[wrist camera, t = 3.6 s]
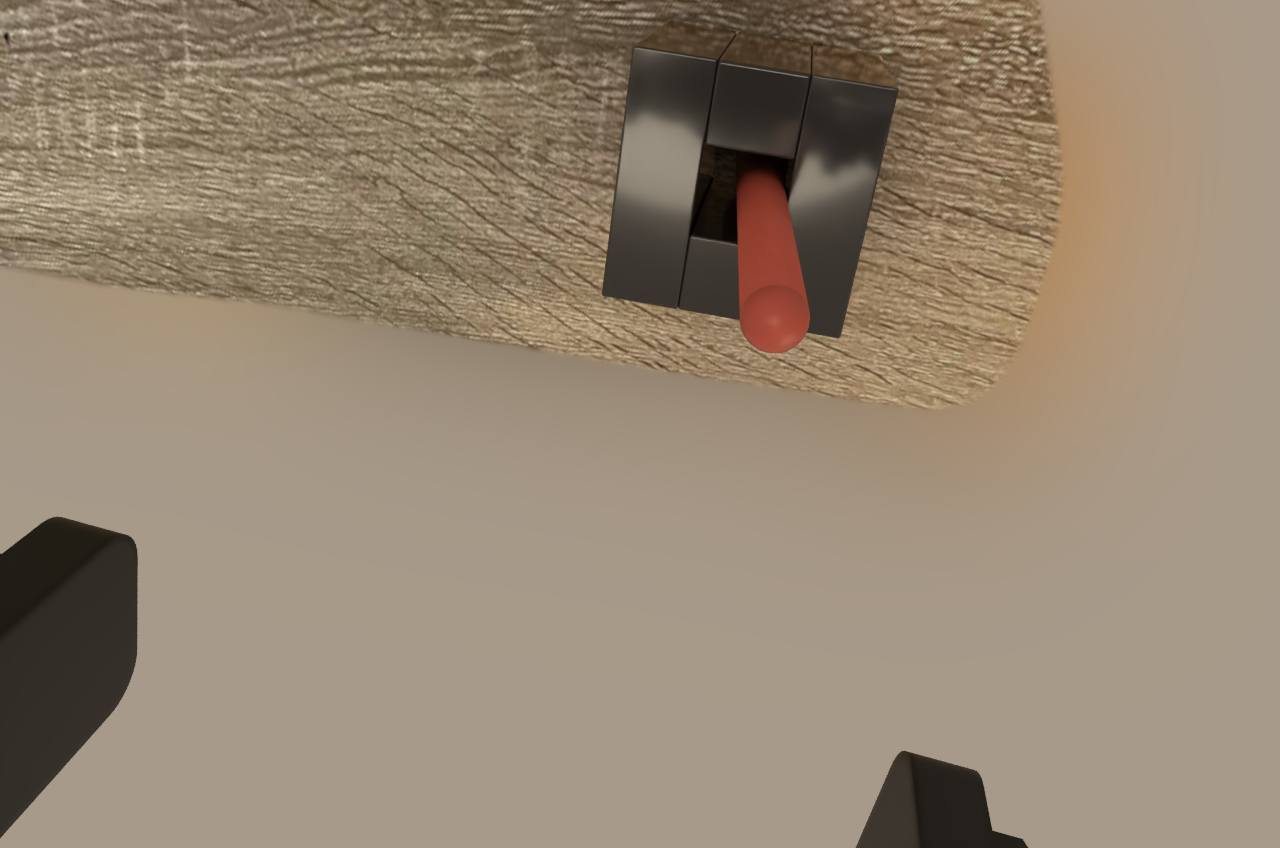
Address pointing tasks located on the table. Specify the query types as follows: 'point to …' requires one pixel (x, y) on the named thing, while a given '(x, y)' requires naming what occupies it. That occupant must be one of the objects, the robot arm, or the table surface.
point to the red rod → (768, 258)
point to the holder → (755, 123)
